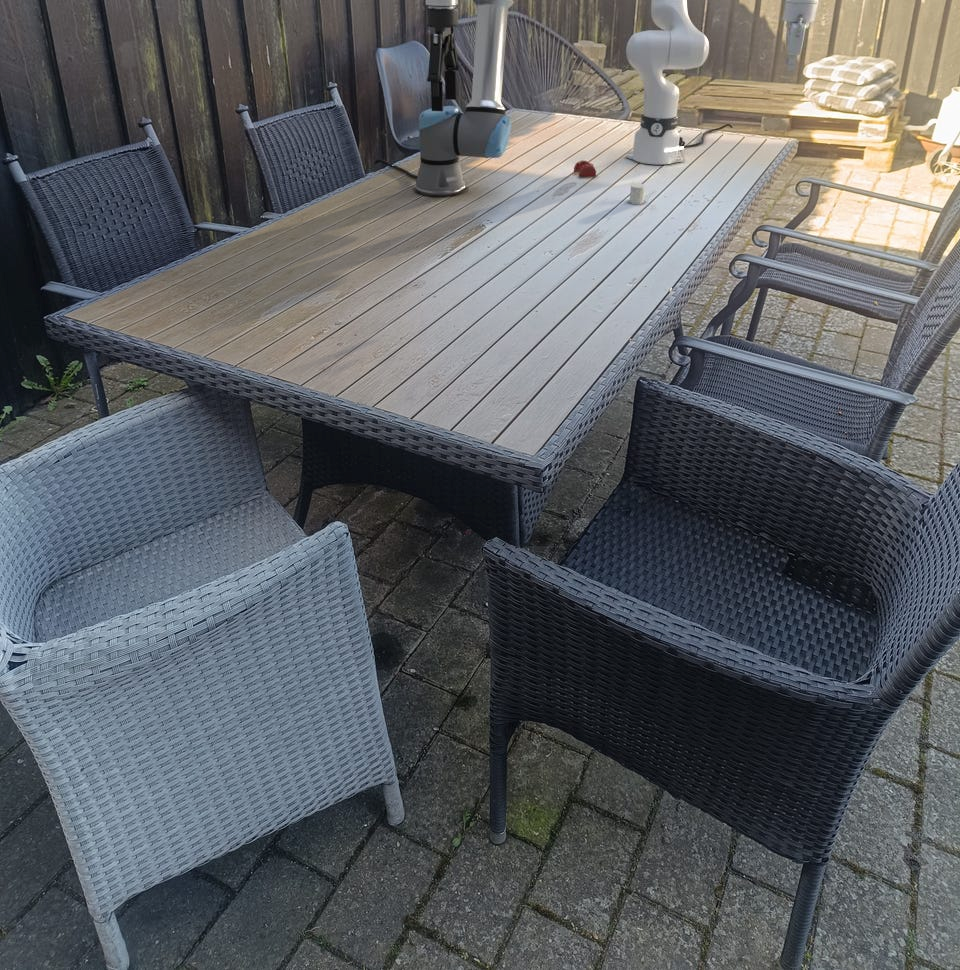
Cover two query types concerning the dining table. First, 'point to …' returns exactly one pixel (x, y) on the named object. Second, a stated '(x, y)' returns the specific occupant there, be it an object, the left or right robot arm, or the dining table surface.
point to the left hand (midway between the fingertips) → (444, 105)
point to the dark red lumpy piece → (584, 169)
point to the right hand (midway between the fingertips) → (789, 67)
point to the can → (637, 193)
